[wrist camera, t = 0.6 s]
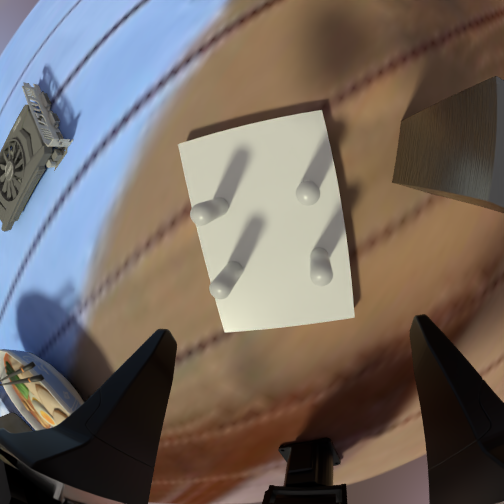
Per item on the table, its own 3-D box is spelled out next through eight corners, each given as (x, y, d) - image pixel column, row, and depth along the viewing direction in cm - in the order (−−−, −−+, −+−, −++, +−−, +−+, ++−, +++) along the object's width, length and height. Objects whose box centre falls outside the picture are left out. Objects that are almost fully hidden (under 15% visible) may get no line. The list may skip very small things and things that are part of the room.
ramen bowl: (73, 433, 41) (53, 457, 33) (6, 341, 37) (-21, 360, 29) (151, 438, 34) (128, 477, 26) (57, 309, 30) (14, 337, 22)
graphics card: (25, 74, 19) (52, 141, 20) (47, 78, 23) (78, 142, 24) (-22, 173, 25) (1, 240, 26) (-4, 170, 28) (21, 234, 29)
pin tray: (352, 310, 23) (361, 344, 18) (228, 325, 25) (210, 358, 20) (321, 113, 19) (325, 95, 14) (184, 145, 22) (152, 140, 17)
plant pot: (-1, 386, 47) (-46, 425, 26) (62, 452, 48) (23, 500, 27) (1, 410, 55) (-33, 443, 34) (52, 463, 56) (22, 500, 36)
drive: (432, 194, 19) (542, 226, 7) (392, 182, 20) (488, 200, 7) (440, 134, 18) (550, 114, 5) (401, 121, 18) (495, 75, 6)
